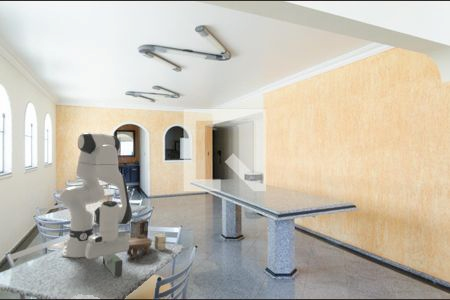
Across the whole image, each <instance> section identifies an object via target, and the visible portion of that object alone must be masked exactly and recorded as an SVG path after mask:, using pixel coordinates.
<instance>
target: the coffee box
mask: <svg viewBox="0 0 450 300" xmlns="http://www.w3.org/2000/svg"><path fill="white" fill-rule="evenodd" d="M129 230H130V231H129V232H130V233H129V238H136V237H143V238H149V237H148V234H149V231H148V230H149V220H146V219H142V218H141V219H138V220H137V219H136V220H132V221H130V229H129Z"/></svg>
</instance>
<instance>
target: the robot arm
mask: <svg viewBox="0 0 450 300" xmlns="http://www.w3.org/2000/svg"><path fill="white" fill-rule="evenodd" d="M77 148H78V149H79V151H80V153H79V157H78V161H77V166H76V173H75V174H76V176H77V177H78V178H79V179H81V180H82V185H76V186H75V185H74V186H70V187H66V188H64V189H62V191H61V192H60V193H59V201H60V203H61V205H63V206H64V207H65V208H67V210H68V211H69V215H70V230H69V237H68V239H67V240H66V241H64V243H63V245H64V246H63V249H62V254H61V257H63V258H64V257H65V258H72V259H73V258H75V259H78V258H84V257H85V258H87V260H92V259H97V258H102V259H103V258H104V260H105V264H106V265H107V264H110V260H111V259H112V257H113V254H116V255H117V254H119V253H120V254H121V253H124V252H127V251H128V250H129V241H128V240H129V238H130V233H128V232H119V225H127V224H128V223H129V222H131V220H132V218H133V211H132V210H133V209H132V208H131V207H132V206H131V204H130V203H131V202H130V197H129V191H128V186H127V180H126V177H125V176H124V175H123V174H122V173H121V171H120V170H119V155H118V152H119V150H120V148H121V141H120V139H119V138H118V137H117V136H115V135H110V134H105V133H91V132H84V133H81V134H80V135H79V136H78V139H77ZM99 180H100V181H101V182H104V183H106V184H109V185H112V186H114V187H116V188H117V190H118V193H119V200H120V204H119V203H118V202H117V201H113V200H106V201H104V202H102V203H101V205H100V206H98V207H97V208H96V209H95V210H94V216H93V213H92V212H90V211H88V210H87V208H86V205H90V204H94V203H95V204H96V203H98V202H100V201H103V199H104V197H105V193H106V192H105V189H104V187H103V186H102V185H101V184H100V182H99ZM93 223H95V224H96V225H97V226H99V229H98V231H97V232H95V233H94V227H93ZM107 255H108V256H109V258H108V260H107V259H106V258H107Z"/></svg>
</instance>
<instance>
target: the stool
mask: <svg viewBox="0 0 450 300" xmlns="http://www.w3.org/2000/svg"><path fill="white" fill-rule="evenodd" d="M128 241H129V250H128V251H126V255H132V260H133V261H136V260H138V250H139V251H140V250H143V255H148V254H149V248H150V247H151V246H152V243H153V242H152V241H153V240H152V239H151V238H149V237H148V238H143V237H136V238H130V237H129V240H128Z"/></svg>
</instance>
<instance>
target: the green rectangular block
mask: <svg viewBox="0 0 450 300" xmlns="http://www.w3.org/2000/svg"><path fill="white" fill-rule="evenodd" d="M108 258H109V256H108V255H107V258H106V259H107V260H108ZM123 264H124V263H123V260H122V259H121V258H120V257H119V256H118V255H117V253H116V254H113V257H112V259H111V260H110V264H107V265H106V264H105V260H104V258H103V257H102V265H103V266H105V267H106V268H107V270H108V271H109V270H110V271H111V272H112V273H113V274H114V275H115V276H118V277H122V276H123ZM110 271H109V272H110ZM111 272H110V273H111ZM112 273H111V274H112ZM113 274H112V275H113ZM114 275H113V276H114ZM115 276H114V277H115Z"/></svg>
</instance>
